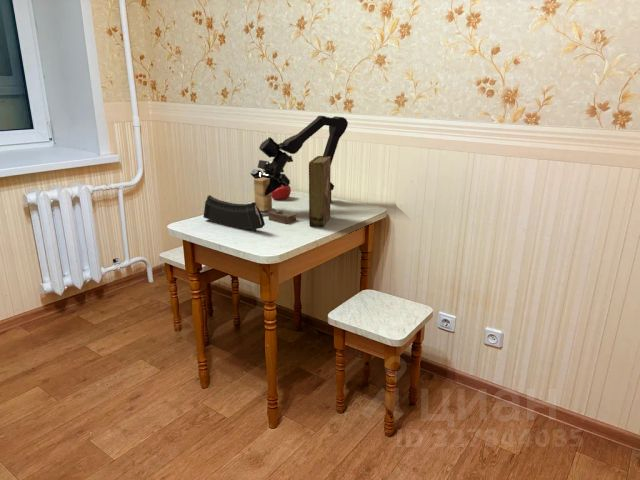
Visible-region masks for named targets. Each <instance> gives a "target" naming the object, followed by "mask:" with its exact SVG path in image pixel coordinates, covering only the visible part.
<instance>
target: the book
mask: <svg viewBox="0 0 640 480" xmlns="http://www.w3.org/2000/svg"><path fill="white" fill-rule="evenodd" d="M331 167H332V163H331V157H330V156H323V155H317V156H316V157H313V159H312V160H310V161H309V162H308V210H309V211H308V215H309V216H308V218H309V219H308V223H309V226H310V227H315V226H316V227H321V228H322V227H325V225H326V224H327V223H328V221H329V220H330V218H331V203H330V182H331Z"/></svg>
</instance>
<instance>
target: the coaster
mask: <svg viewBox="0 0 640 480" xmlns="http://www.w3.org/2000/svg"><path fill="white" fill-rule="evenodd" d="M260 212H261V213H262V215H263V217H269V213H270V212H272V213H274V212H277V209H276V208H273V207H272V209H270V210H267V211H260Z"/></svg>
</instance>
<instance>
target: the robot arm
mask: <svg viewBox="0 0 640 480" xmlns="http://www.w3.org/2000/svg"><path fill="white" fill-rule="evenodd" d="M348 125H349V122H348V121H347V119H346V117H344V116H343V117H341V116H336V115H335V116H333V117H328V116H326V115H318V116H317V117H316V118H315V119H314V120H313V121H311V122H310V123H309V124H308V125H307V126H305V127H304V128H303V129H302V130H300V131H299V132H298V133H297V134H295V135H292V136H290V137H288V138H285V139H284V140H283V141H282V142H280V143H277V142H276V141H274V139H273V138H272V137H270V136H269V137H268V138H267V139H265V140H264V141H262V142H261V143H260V144H259V147H258V148H259V150H260V151H261V152H262V153H263V154H264V155H265V156H266V157H268V158H273V159H271V160H269V161H268V160H262V159H259V160H258V164H257V168H258V169H252V170H251V172H250V175H251V176H252V178H254V179H258V178H262V177H263V178H269V179H270V184H269V185H268V187H267V189H266V192H265V195H266V196H267V195H268V194H270V193H271V192H273V191H274V190H276V189H278V188H279V187H282V185H283V186H286V187H288V186H290V184H291V180H290V178H288V176H287V175H286V173H284V172H285V170H284V168H285V166H286V165H287V163H293V162H294V160H293V156H292V155H296V153H298V152H299V150H301V148H302V147H303V145H304V143H305V142H306V141H308V140H309V139H310V138H311V137H312V136H314V134H316V133H317V132H319V131H320V129H322V128H323V127H324V126H326V127H327V126H328V134H329V136H328V138H327V141H326V146H325V147H324V151H323V154H322V156H330V157H331V164H332V163H333V160H334V157H335V153H336V150H337V147H338V144H339V141H340V140H341V137H342V136H343V135H344V134H345V132H346V130H347V128H348ZM289 154H290V155H289ZM260 169H262V171H261V170H260ZM334 188H335V185H334V183H332V182H331V181H330V204H332V202H333V201H332V200H333V199H332V191H334Z"/></svg>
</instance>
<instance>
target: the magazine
mask: <svg viewBox="0 0 640 480" xmlns="http://www.w3.org/2000/svg"><path fill="white" fill-rule="evenodd" d="M203 219H206V220H209V221H211V222H214V223H216V224H219V225H223V226H226V227H231V228H235V229H242V230H253V231H254V232H257V231H258V230H257V229H263V228H264V226H265V225H266V223H265V220H264V216H263V215H262V213H261V212H260V210H259V208H258V207H257V206H256V203H255V201H253V202H251V203H233V202H229V201H224V200H221V199H218V198H215V197H213V196H212V195H207V197H206V200H205V202H204V210H203Z"/></svg>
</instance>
